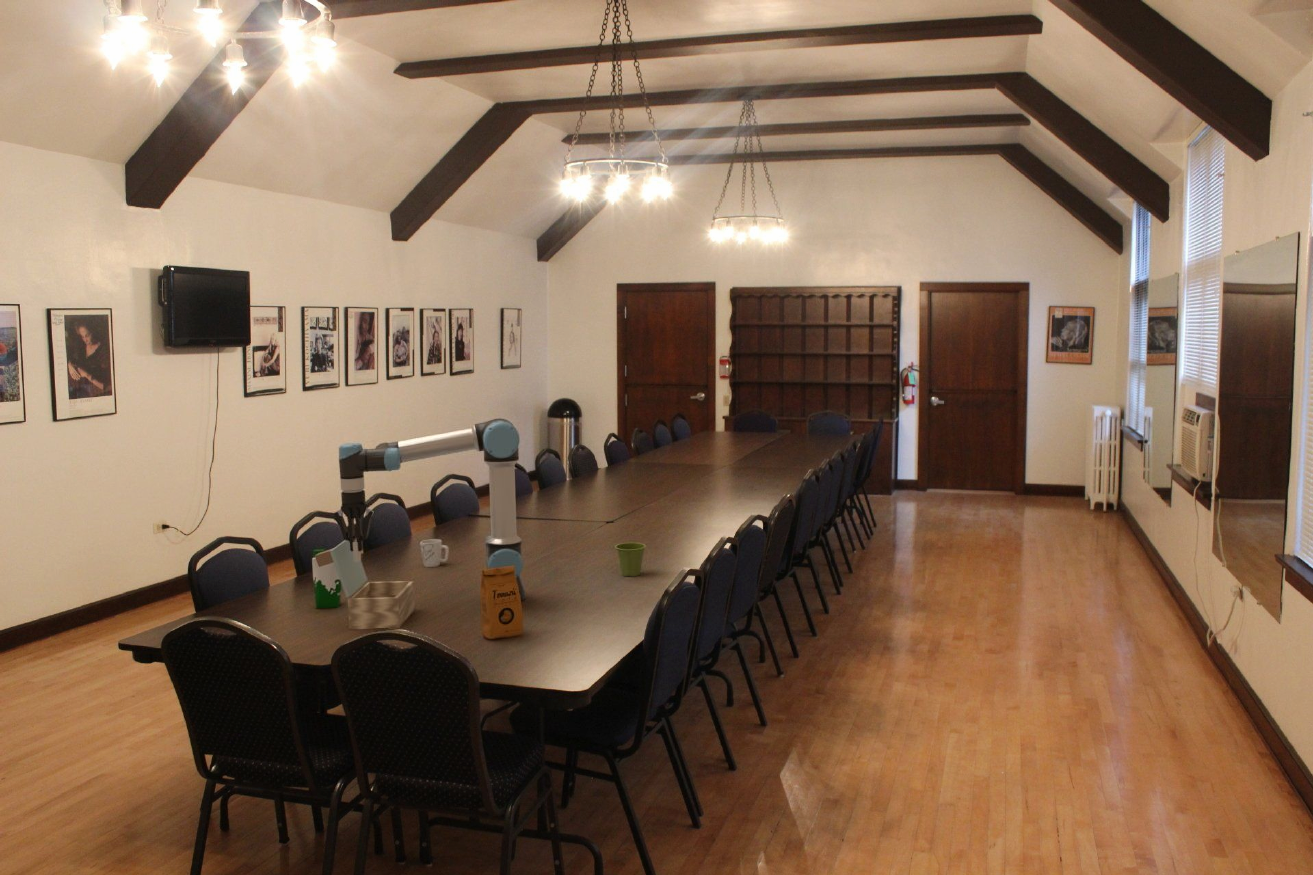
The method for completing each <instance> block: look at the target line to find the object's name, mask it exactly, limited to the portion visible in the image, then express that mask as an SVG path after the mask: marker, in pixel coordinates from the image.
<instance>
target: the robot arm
mask: <svg viewBox="0 0 1313 875" xmlns="http://www.w3.org/2000/svg"><path fill="white" fill-rule="evenodd" d="M520 440H521V439H520V434H519V431H518V430H517V428H516V427H515V426H514V424H513V423H512V422H511V421H510V420H507V419H505V418H502V417H501V418H499V417H498V418H494V419H490V420H486V421H484V422H479V423H475V424H472V426H471V427H468V428H463V429H458V430H453V431H447V432H440V433H436V434H435V433H434V434H430V435H426V436H419V437H415V438H409V439H402V440H398V441H393V442H382V443H379V444H377V446H376V447H375V448H369V449H368V448H364V447H363V445H362V443H359V442H350V443H343V444H340V445H339V447H338V466H339V475H340V476H339V477H340V479H339V480H340V490H341V491H342V492H341V493H340V494H341V495H340V497H341V506H340V509H339V510H337V511H335V512H334V513H333V515H334V517H335V518H336V520H337V521H338V526H339V528H340V532H341V535H342V538H343V541H345V540H347V541H349V542H350V550H351V551H353V555H354V562H359V561H360V560H361V558H362V557H361V552H363V550H364V545H363V544H364V542H363V541H365V540H366V539H368V538H369V534H370V527H371V522H372V517H373V516H374V515H375V510H373V509H372V510H371V509H370V508H368V504H367V503H366V491H365V490H364V489H365V473H366V472H367V473H368V472H392V471H398V470H400V469H401V465H402V464H403V463H408V462H413V461H419V460H425V459H430V458H434V457H441V456H445V455H446V456H447V455H451V454H456V453H463V452H467V451H468V452H469V451H473V450H474V451H477V452H483V462H484V463H485V464H486V465H487V467H488V476H489V477H488V480H489V482H488V484H489V510H490V513H489V514H490V535H487V536H486V537H485V542H484V546H485V561H486V563H485V564H486V569H491V568H501V567H508V566H515V572H514V573H515V575H516V580H517V584H518V588H519V593H520V598H521V602H522V601H524V600H525V599H526V598H527V596H526V595H527V594H526V590H525V586H524V583H523V581H522V578H521V573H522V571H523V568H524V560H523V554H522V552H523V551H522V550H523V549H522V538H521V537H519V535H518V534H517V532H518V531H517V508H516V506H517V504H516V473H515V472H516V471H515V465H516V464H517V463H518V462H519V460H520V459H519V458H520V457H519V456H520V454H519V452H520V451H519V446H520ZM364 514H365V516H366V517H365V522H364V527H363V524H362V523H363V522H362V521H363V516H364ZM344 516H345V517H346V518H347V524H346V521H345V518H344ZM347 525H348V526H347ZM347 527H348V528H347ZM355 529H356V530H355ZM355 531H356V532H355ZM355 533H356V534H355ZM361 561H362V560H361Z"/></svg>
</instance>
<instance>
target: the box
mask: <svg viewBox="0 0 1313 875" xmlns="http://www.w3.org/2000/svg"><path fill="white" fill-rule="evenodd" d="M414 584H415V583H414V580H407V581H406V580H403V581H402V580H401V581H399V580H397V581H366V582H365V583H364V584H363V585H362V586H361V587H360V588H358V589H357V590H356V591H355V592H354V593H353V594H352V595H350V596H349V597H347V613H348V628H349V630H374V629H373V628H388V629H387V630H389V629H390V630H391V629H392V630H394V629H395V630H397V629H400V628H401V627H402V625H403V624H404V623H405V622H406V621H407V619H408V618H409V617H410V616H411V615H412V614H413V612H414V611H415V610H416V606H415V605H416V604H415V587H414Z"/></svg>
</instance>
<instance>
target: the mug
mask: <svg viewBox="0 0 1313 875" xmlns="http://www.w3.org/2000/svg"><path fill="white" fill-rule="evenodd" d="M442 543H443V542H442V539H436V538H429V539H424V540H421V541H420V544H419V545H420V553H421V558H422V562H423V566H424V567H425V568H435V567H439V566H440V564H441V563H446V562H447V561H448V558H449V553H450V547H449V546H448V545H444V544H442ZM442 549H444V550H445V554H444V558H443V557H442Z"/></svg>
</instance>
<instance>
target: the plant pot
mask: <svg viewBox="0 0 1313 875" xmlns="http://www.w3.org/2000/svg"><path fill="white" fill-rule="evenodd" d="M614 547H615V550H616V553H617V556H618V562H619V567H620V573H621V575H622V576H623V577H637V576H640V574H641V570H642V565H643V558H644V553H645V548H646V547H647V545H646V544H644V543H641V542H623V543H618V544H616V545H614Z"/></svg>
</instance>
